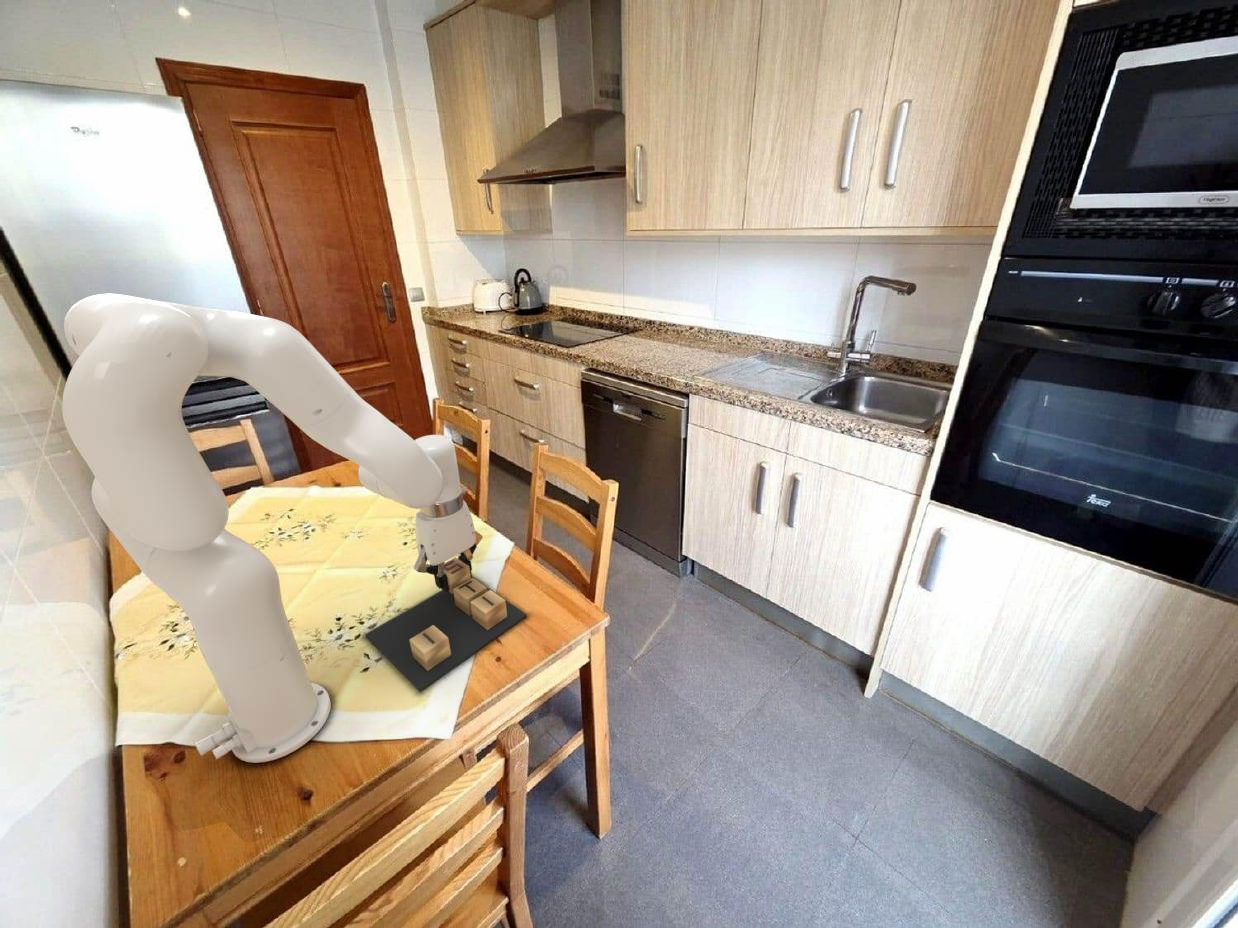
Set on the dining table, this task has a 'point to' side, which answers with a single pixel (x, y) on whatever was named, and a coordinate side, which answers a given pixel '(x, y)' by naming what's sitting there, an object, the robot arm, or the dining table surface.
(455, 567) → the tile
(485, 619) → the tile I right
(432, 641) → the tile
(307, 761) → the dining table surface
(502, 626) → the word mat
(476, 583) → the tile
